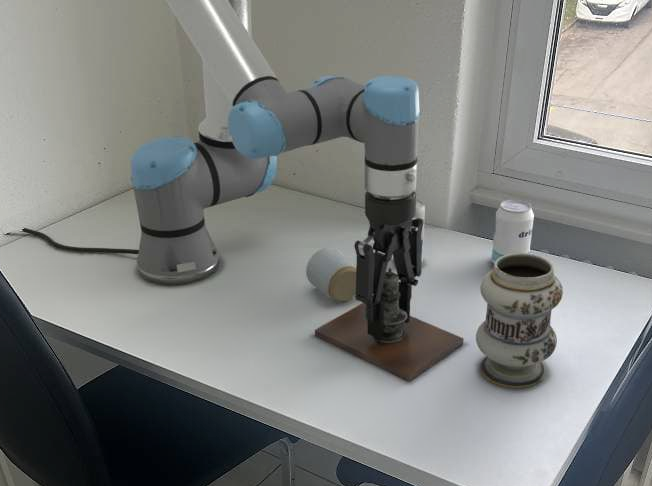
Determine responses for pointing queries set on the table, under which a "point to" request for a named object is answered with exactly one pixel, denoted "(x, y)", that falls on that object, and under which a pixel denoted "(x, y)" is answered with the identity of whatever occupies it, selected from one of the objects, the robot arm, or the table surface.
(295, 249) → the table surface
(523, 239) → the beverage can
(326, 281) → the ceramic mug
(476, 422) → the table surface
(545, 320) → the apothecary jar
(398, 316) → the grey tapered rounded piece
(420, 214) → the energy drink
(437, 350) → the walnut board
